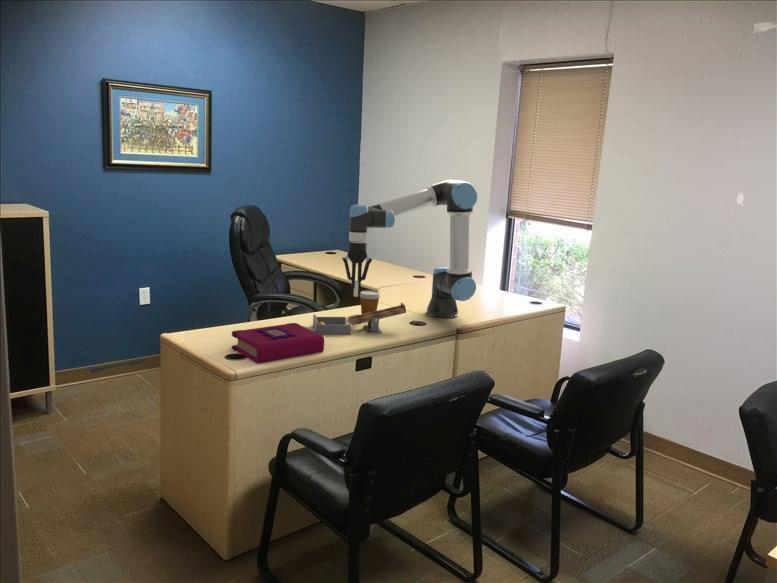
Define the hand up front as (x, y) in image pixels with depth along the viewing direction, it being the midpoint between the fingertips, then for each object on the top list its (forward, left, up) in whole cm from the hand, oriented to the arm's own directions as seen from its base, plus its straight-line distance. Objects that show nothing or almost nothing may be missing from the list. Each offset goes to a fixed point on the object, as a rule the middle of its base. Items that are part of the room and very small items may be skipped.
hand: (355, 295), depth 279 cm
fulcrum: (-7, +6, -14) cm, 16 cm away
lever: (-9, +3, -8) cm, 13 cm away
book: (+35, +33, -14) cm, 50 cm away
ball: (+15, +6, -12) cm, 20 cm away
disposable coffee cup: (-9, -14, -14) cm, 22 cm away
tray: (+11, +6, -14) cm, 18 cm away
